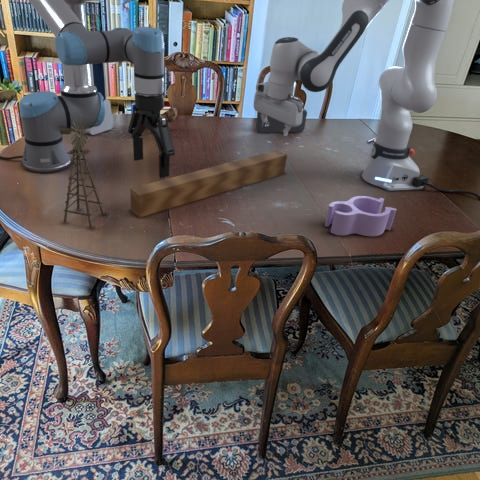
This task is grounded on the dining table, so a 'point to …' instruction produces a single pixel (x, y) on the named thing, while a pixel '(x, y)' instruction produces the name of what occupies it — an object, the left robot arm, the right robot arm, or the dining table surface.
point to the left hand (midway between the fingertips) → (151, 168)
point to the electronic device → (100, 84)
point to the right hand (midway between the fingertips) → (274, 131)
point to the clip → (359, 216)
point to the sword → (371, 140)
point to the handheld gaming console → (278, 124)
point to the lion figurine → (170, 115)
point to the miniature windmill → (78, 148)
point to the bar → (205, 183)
